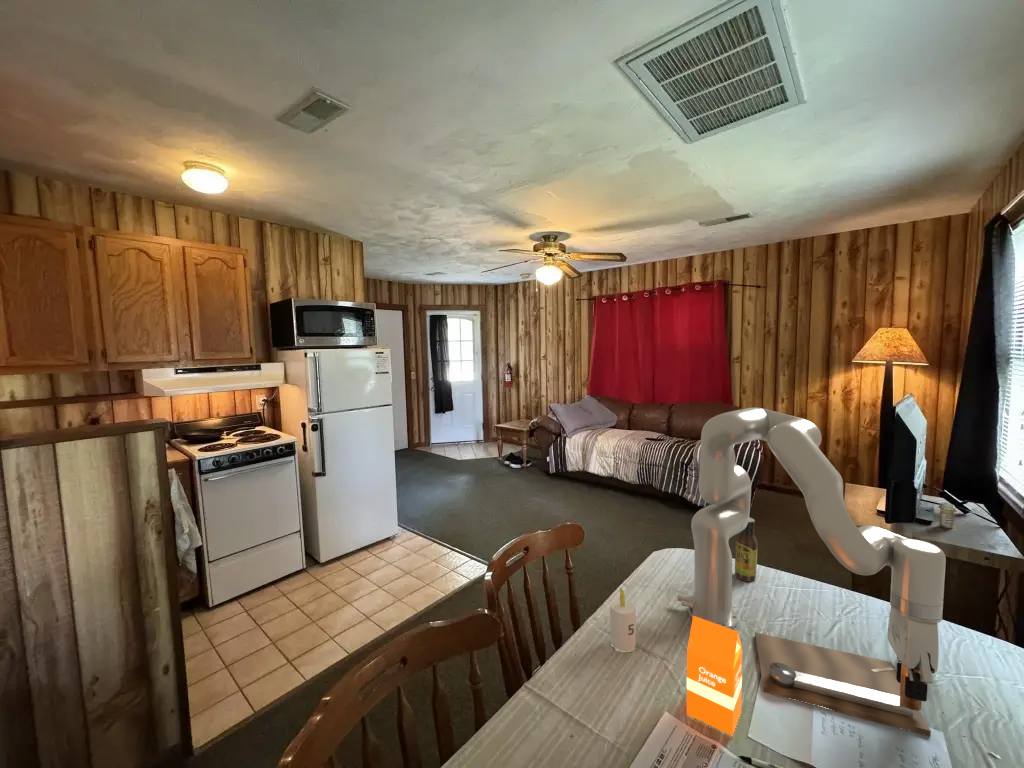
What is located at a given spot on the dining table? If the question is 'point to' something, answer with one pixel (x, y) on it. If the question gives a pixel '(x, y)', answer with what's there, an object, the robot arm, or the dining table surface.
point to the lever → (846, 689)
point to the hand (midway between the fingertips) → (910, 690)
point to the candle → (623, 623)
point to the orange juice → (714, 675)
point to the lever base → (835, 679)
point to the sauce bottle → (746, 553)
